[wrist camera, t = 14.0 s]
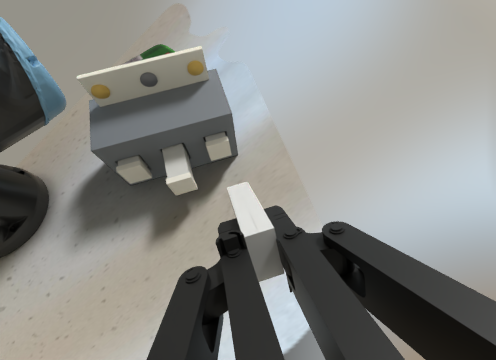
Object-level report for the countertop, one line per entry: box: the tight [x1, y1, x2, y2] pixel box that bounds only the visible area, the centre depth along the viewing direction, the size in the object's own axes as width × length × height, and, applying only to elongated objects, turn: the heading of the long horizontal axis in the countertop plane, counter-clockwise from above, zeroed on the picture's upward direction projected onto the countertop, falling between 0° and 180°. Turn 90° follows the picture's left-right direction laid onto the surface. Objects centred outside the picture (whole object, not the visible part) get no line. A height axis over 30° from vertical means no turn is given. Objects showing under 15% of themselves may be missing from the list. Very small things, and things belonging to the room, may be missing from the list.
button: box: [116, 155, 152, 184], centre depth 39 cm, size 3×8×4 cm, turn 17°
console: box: [89, 69, 238, 185], centre depth 40 cm, size 19×9×11 cm, turn 107°
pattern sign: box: [77, 46, 209, 107], centre depth 34 cm, size 16×1×5 cm, turn 107°
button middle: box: [162, 143, 198, 195], centre depth 37 cm, size 3×8×4 cm, turn 17°
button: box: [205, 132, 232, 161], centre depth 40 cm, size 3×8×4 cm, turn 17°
